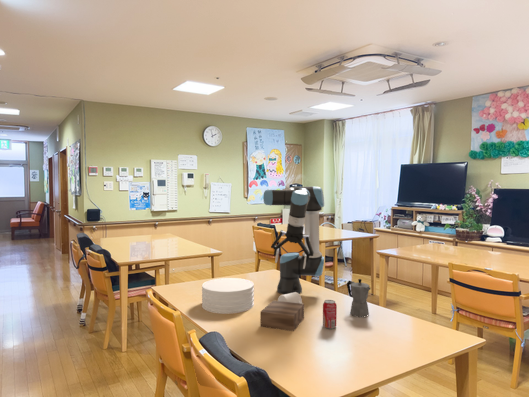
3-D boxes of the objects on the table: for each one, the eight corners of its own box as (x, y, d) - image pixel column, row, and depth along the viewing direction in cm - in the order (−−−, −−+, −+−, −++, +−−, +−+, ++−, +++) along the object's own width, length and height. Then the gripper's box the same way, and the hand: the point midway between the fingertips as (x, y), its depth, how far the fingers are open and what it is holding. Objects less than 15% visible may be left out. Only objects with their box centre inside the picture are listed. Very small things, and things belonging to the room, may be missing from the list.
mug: (277, 308, 203) (277, 293, 203) (292, 304, 209) (292, 290, 209) (292, 314, 193) (292, 299, 193) (307, 311, 199) (307, 295, 199)
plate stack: (229, 317, 189) (229, 295, 189) (191, 306, 206) (191, 285, 206) (264, 303, 212) (264, 283, 211) (226, 294, 228) (226, 275, 228)
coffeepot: (376, 316, 191) (376, 280, 190) (363, 320, 186) (363, 283, 185) (353, 307, 204) (353, 274, 203) (340, 311, 199) (340, 276, 198)
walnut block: (273, 314, 194) (273, 300, 194) (304, 318, 189) (304, 304, 188) (260, 326, 177) (260, 311, 177) (293, 331, 172) (293, 316, 172)
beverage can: (327, 323, 182) (327, 298, 181) (338, 326, 178) (339, 301, 177) (320, 327, 177) (320, 301, 176) (332, 330, 173) (332, 304, 172)
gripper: (268, 221, 176) (263, 262, 183) (322, 231, 171) (315, 273, 178) (271, 216, 183) (266, 256, 190) (323, 225, 178) (316, 266, 185)
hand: (290, 264), depth 184 cm, fingers open, 13 cm apart
